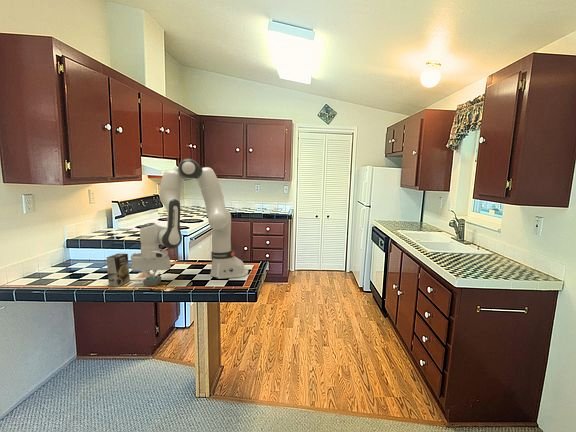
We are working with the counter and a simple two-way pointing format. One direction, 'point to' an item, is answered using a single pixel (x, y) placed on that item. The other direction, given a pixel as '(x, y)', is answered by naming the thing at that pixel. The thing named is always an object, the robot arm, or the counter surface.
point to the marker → (144, 273)
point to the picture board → (141, 278)
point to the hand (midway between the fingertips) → (151, 277)
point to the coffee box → (118, 270)
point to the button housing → (152, 281)
